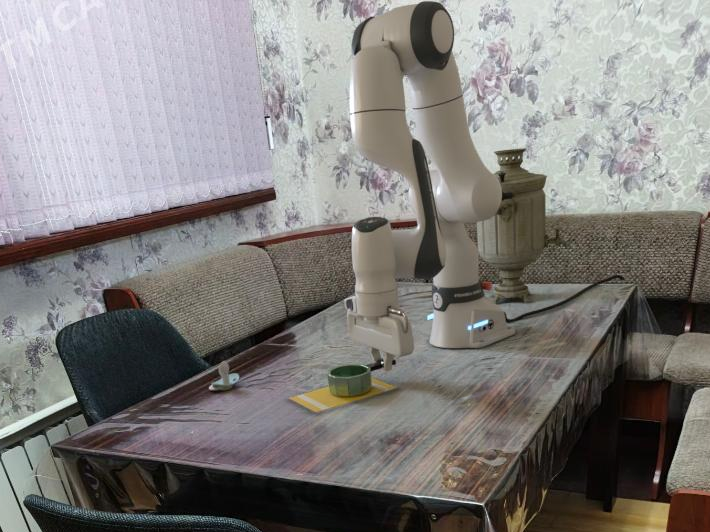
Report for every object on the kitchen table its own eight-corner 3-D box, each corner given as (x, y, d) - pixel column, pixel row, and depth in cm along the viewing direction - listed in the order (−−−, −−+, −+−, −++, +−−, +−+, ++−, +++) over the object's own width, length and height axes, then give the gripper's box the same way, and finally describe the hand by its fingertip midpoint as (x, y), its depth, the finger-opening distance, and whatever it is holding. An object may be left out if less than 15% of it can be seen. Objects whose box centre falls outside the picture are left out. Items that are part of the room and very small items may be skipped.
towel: (367, 377, 160) (366, 375, 160) (397, 389, 151) (397, 387, 151) (289, 400, 151) (288, 397, 151) (316, 414, 142) (316, 412, 142)
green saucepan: (382, 373, 160) (381, 354, 158) (406, 382, 154) (405, 362, 151) (322, 390, 153) (319, 371, 151) (344, 401, 146) (342, 380, 144)
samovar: (542, 314, 195) (547, 151, 175) (457, 309, 208) (453, 156, 188) (577, 290, 217) (586, 142, 196) (498, 287, 229) (499, 147, 209)
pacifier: (203, 392, 161) (224, 394, 158) (197, 365, 158) (218, 366, 155) (223, 382, 166) (244, 383, 163) (217, 356, 163) (238, 356, 160)
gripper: (419, 307, 141) (422, 375, 148) (364, 294, 156) (369, 355, 163) (393, 314, 138) (398, 382, 145) (339, 299, 153) (346, 362, 160)
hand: (382, 368), depth 154 cm, fingers closed on green saucepan, 2 cm apart
